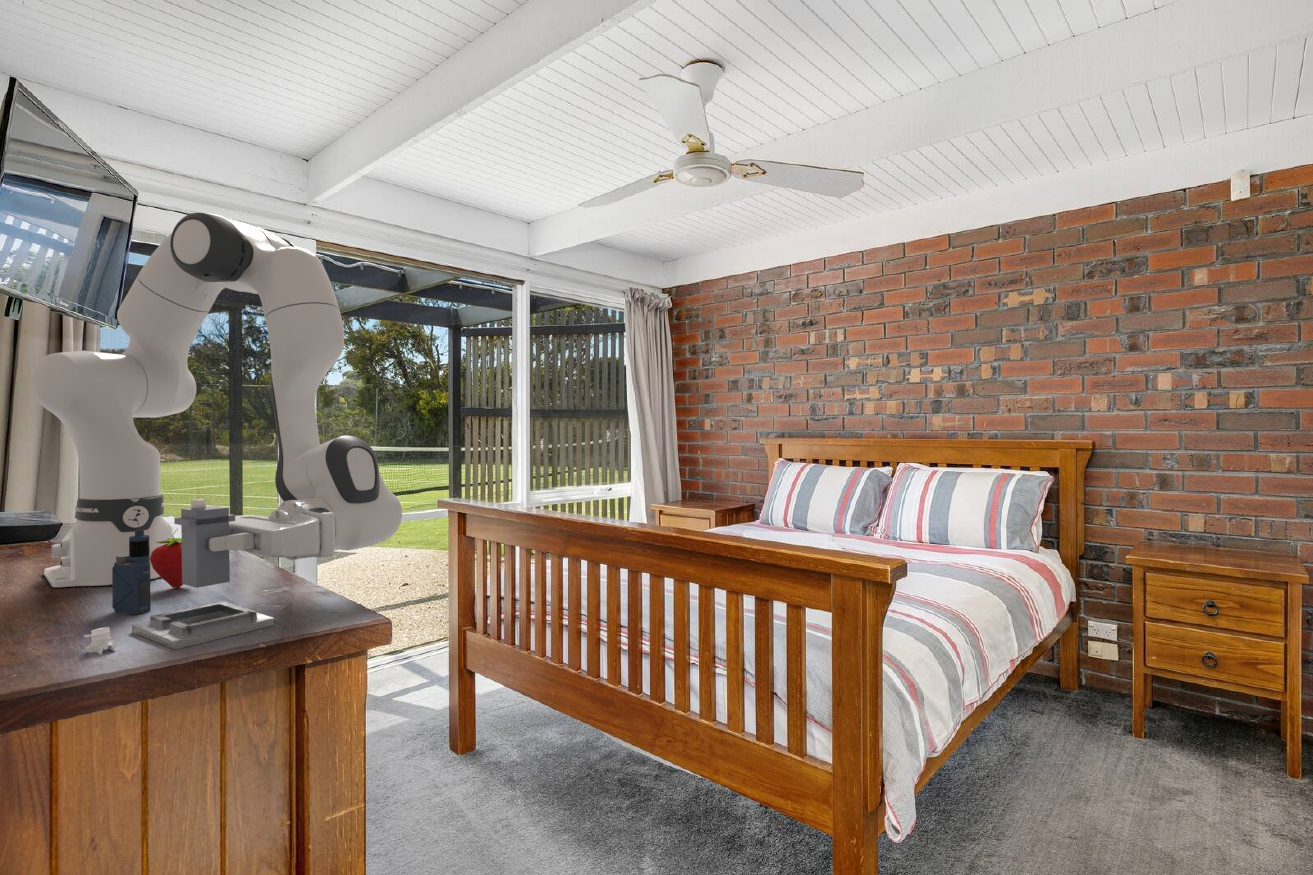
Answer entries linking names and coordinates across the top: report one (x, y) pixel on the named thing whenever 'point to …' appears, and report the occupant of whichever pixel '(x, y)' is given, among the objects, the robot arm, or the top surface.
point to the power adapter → (100, 640)
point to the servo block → (203, 544)
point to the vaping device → (132, 577)
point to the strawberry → (169, 561)
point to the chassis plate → (201, 624)
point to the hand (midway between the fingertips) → (198, 542)
